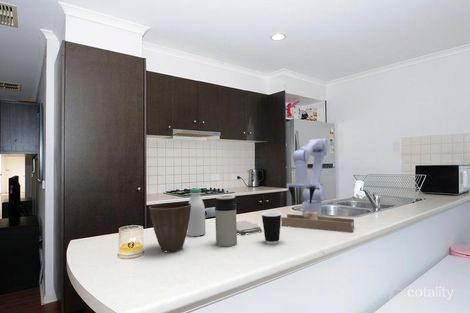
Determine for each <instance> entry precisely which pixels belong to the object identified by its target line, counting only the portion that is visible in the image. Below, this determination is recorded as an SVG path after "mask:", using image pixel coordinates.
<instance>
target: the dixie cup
mask: <svg viewBox="0 0 470 313" xmlns="http://www.w3.org/2000/svg"><path fill="white" fill-rule="evenodd" d="M260 215H261V219H262V225H263V226H262V227H263V235H264V240H265V243H266V242H267V243H266V244H268V243H270V244H269V245H276V244H275V243H277V244H279V240H280V234H281V224H282V221H281V217H282V212H278V211H264V212H262V213H260Z"/></svg>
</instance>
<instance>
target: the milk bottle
mask: <svg viewBox="0 0 470 313" xmlns="http://www.w3.org/2000/svg"><path fill="white" fill-rule="evenodd" d="M189 193H190V198H189V201H188V203H190V204H191V211H190V219H189V225H188V230H187V235H188V236H189V235H190V236H189V237H193V236H197V237H200V236H199V235H203V234H205V235H206V211H205V208H206V207H205V204H204V201H203V199H202V196H201V194H202V188H199V187H198V188H197V187H196V188H195V187H194V188H190V190H189ZM203 236H204V235H203Z"/></svg>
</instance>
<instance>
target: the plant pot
mask: <svg viewBox="0 0 470 313" xmlns="http://www.w3.org/2000/svg"><path fill="white" fill-rule="evenodd" d="M148 208H149V214H150V219H151V224H152V226H153V231H154V235H155V237H156V240H157V242H158V245H159V248H160V250H161V251H162V250H163V251H167V252H166V253H169V252H168V251H175V252H178V251H177V250H179V251H181V250H182V249H183V248H184V244H185V240H186V237H187V235H188V225H189V219H190V211H191V204H190V203H189V202H179V201H177V202H165V203H158V204H156V203H155V204H153V205H150V206H149V207H148ZM180 249H181V250H180ZM163 251H162V252H163Z"/></svg>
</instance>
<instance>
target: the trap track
mask: <svg viewBox="0 0 470 313" xmlns="http://www.w3.org/2000/svg"><path fill="white" fill-rule="evenodd" d="M288 226H290V227H289V228H298V227H299V228H301V229H309V230H320V231H321V230H322V231H331V232H332V231H333V232H341V233H351V234H352V232H353V231H354V229H355V219H354V218H347V217H346V218H344V217H332V216H331V217H330V216H323V217H320V216H318V220H312V219H304V215H303V214H291V213H289V214H286V217H285V216H281V227H288Z"/></svg>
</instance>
